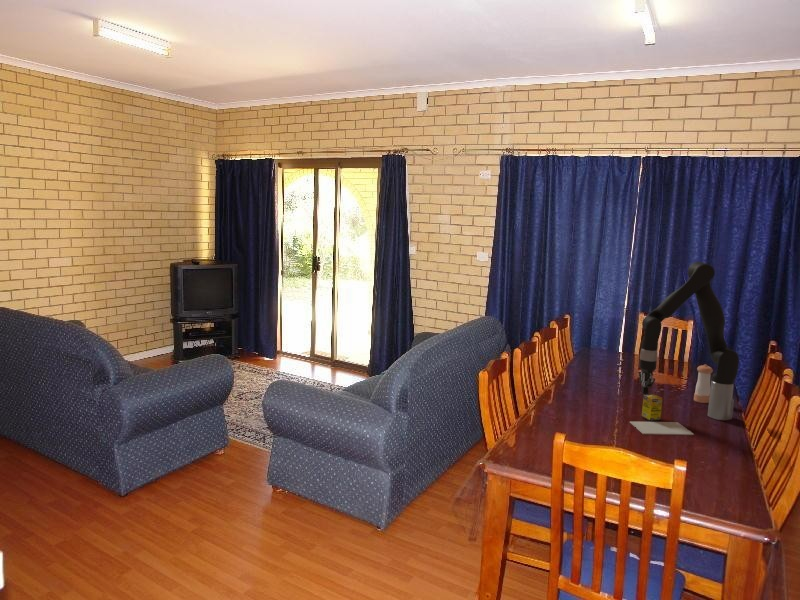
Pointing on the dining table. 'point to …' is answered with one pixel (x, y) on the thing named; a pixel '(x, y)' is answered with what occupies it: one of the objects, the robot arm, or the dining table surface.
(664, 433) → the mat
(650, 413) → the supplement box
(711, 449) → the dining table surface
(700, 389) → the salt shaker
